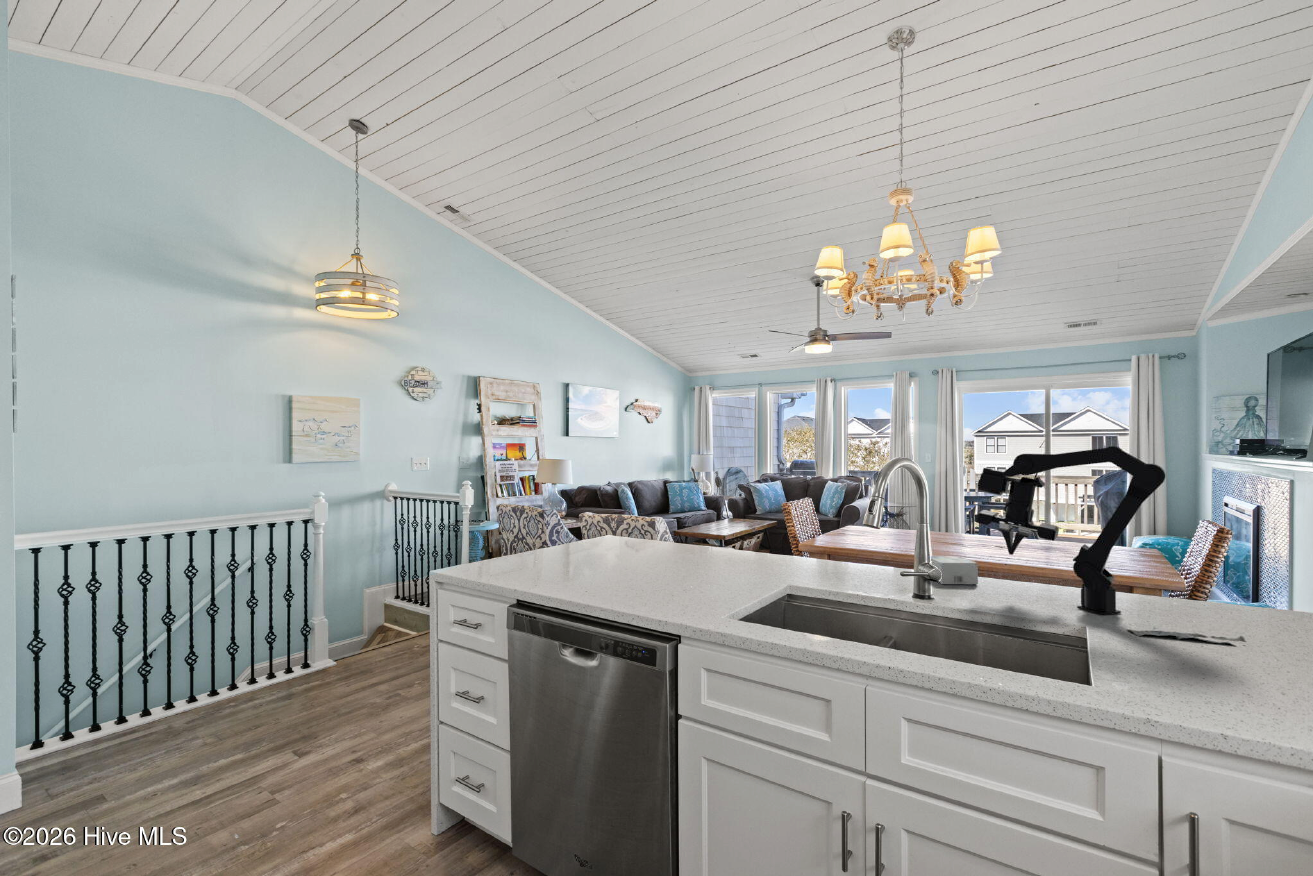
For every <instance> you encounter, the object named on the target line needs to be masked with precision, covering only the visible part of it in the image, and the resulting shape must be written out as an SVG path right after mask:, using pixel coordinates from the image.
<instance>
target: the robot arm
mask: <svg viewBox="0 0 1313 876" xmlns="http://www.w3.org/2000/svg"><path fill="white" fill-rule="evenodd" d="M1103 463H1111V464H1113V465H1115V466H1117V467H1118V468H1119V469H1121V470H1122V471H1124V472H1126V473H1127V474H1129V475H1131V479H1130V482H1129V484H1128V488H1127V490H1126V493H1125V496H1124V497H1123V499H1122V500H1121V502H1120V503H1119V505H1118V507H1116V510H1115V511H1114V512H1113V514H1112V515H1111V517H1110V518H1109V520H1108V521H1107V523H1106V524H1105V526H1104V528H1103V529H1102V531H1101V533H1100V534H1099V535H1098V537H1097V539H1095V541H1094V543H1093V544H1091V545H1090V546H1088V545H1086V543H1084V544H1083V545H1081V547H1080V549H1079V552H1078V554H1077V555H1076V556H1074V558H1073V559H1072V561H1073V562H1074V563H1073V565H1072V570H1073V573H1074V574H1075V575H1076V577H1078V578H1079V579H1081V580H1082V584H1081V589H1080V604H1081V605H1077V606H1076V608H1077V609H1080V610H1083V611H1086V612H1090V613H1094V614H1097V615H1113V614H1114V615H1115V614H1121V613H1122V611H1121V610H1118V609H1117V604H1116V603H1117V600H1116V599H1117V597H1116V595H1117V594H1116V593H1117V592H1116V591H1117V589H1116V587H1113V586H1112V585H1113V583H1114V581H1115V576H1114V575H1113V574H1111V572H1109V570H1107V569H1106V565H1107V562H1108V559H1109V557H1110V554H1111V551H1112V549H1113V548H1114V547H1115V544H1116V543H1117V542H1118V540H1119V539H1120V537H1121V536H1122V534H1123V532H1124V531H1125V530H1126V528H1127V526H1128V525H1129V524H1130V522H1131V521H1132V519H1133V517H1134V516H1136V515H1135V514H1136V513H1137V512H1138V511H1139V509H1140V507H1141V506H1142V504H1143V503H1144V502H1145V501H1146V500H1147V499H1148V498H1149V497H1150V496H1151V495H1152V494H1153V493H1154V492H1155V491H1156V490H1157V489H1158V488H1159V487H1160V486H1161V485H1162V484H1163V483H1164V482H1165V480H1166V477H1167V475H1166V472H1165V469H1163V468H1162V467H1161V466H1160V465H1158V464H1155V463H1149V462H1148V463H1145V462H1144V461H1143V460H1141V459H1138V458H1137V457H1135V456H1133V455H1132V454H1130V453H1128V452H1126V451H1124V450H1123V449H1122V448H1121V447H1119V446H1115V445H1113V446H1112V445H1110V446H1107V447H1103V448H1101V447H1100V448H1096V449H1087V450H1078V451H1069V452H1063V453H1062V452H1061V453H1055V454H1054V453H1022V454H1019V455H1017V456H1016V457H1015V458H1014V460H1013V463H1012V465H1011V466H1009V467H1008V468H1006V469H1005V470H1004V471H1002V470H998V469H992V468H989V467H983V469H982V472H981V474H980V476H979V478H978V482H977V491H978V492H981V493H987V494H991V495H996V496H1002V495H1003V493H1005V494H1006V493H1008V497H1007V500H1006V502H1005V504H1004V508H1003V511H1004V512H1005V515H1004V517H1002V516H998V513H997V512H995V511H991V510H986V509H983V510H981V511H979V512H978V513H977V514H976V516H975V523H977V524H981V525H985V526H989V525H990V524H992V523H994V524H998V525H999V527H998V528H997V531H998V532H1001V534H1002V537H1003V539H1004V542H1005V544H1006V549H1007V551H1008V554H1009V555H1011V556H1013V555H1014V553H1015V552H1016V550H1017V549H1018V547H1019V545H1020V543H1021V542H1022V541H1023V539H1024V538H1026V539H1028V538H1030V537H1031V536H1032V534H1033V533H1036V535H1037V536H1038V538H1040V539H1044V540H1047V541H1055V540H1056V539H1057V538H1058V536H1059V531H1060V529H1059V527H1058V526H1057V525H1054V524H1050V523H1046V522H1042V523H1041V524H1039V525H1037V524H1032V521H1033V519H1034V518H1033V517H1034V513H1035V510H1034V509H1033V504H1034V498H1035V491H1036V487H1037V488H1042V489H1043V487H1044V486H1046V483H1045V482H1044V481H1043V480H1042V479H1041V477H1040V476H1037V477H1036V478H1032V477H1026V476H1032V475H1035V474H1040V473H1044V472H1046V471H1050V470H1051V471H1052V470H1054V469H1058V468H1067V467H1075V466H1076V467H1077V466H1078V467H1079V466H1087V465H1094V464H1103ZM1017 476H1022V477H1021V478H1014V477H1017ZM1008 491H1009V492H1008ZM1015 528H1016V529H1018V531H1017V532H1015V535H1014V531H1015Z"/></svg>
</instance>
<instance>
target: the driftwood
mask: <svg viewBox="0 0 1313 876" xmlns="http://www.w3.org/2000/svg"><path fill="white" fill-rule="evenodd" d="M1153 629H1156V627H1153ZM1126 631H1127V632H1132V633H1133V634H1134V635H1136V636H1138V637H1141V636H1143V635H1154V636H1175V637H1176V639H1177V640H1180V639H1189V638H1190V639H1193V640H1194V639H1195V640H1200V641H1204V642H1208V643H1216V644H1225V645H1231V646H1234V647H1237V645H1234V644H1232V643H1231V642H1242V643H1247V641H1246V639H1245V637H1244V636H1243V635H1242V636H1241V635H1240V636H1238V637H1237V638H1228V637H1226V636H1214V635H1212V636H1208V635H1205V634H1200V633H1189V632H1186V633H1185V632H1183V633H1182V632H1178V631H1164V630H1135V629H1133V630H1132V629H1126ZM1203 638H1204V639H1203ZM1205 638H1210V639H1215V640H1218V642H1217V641H1214V640H1208V639H1205ZM1219 640H1220V641H1221V642H1219ZM1230 641H1231V642H1230ZM1242 647H1246V645H1244V644H1242Z"/></svg>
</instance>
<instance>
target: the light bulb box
mask: <svg viewBox="0 0 1313 876" xmlns="http://www.w3.org/2000/svg"><path fill="white" fill-rule="evenodd" d="M931 561H932V563H933V565H935V566H936V567H938V569H940V571H941V572H942V579H941V581H940V583H939V584H940V585H942V584H978V585H979V576H978V575H979V572H978V570H979V569H978V568H979V567H978V562H975V561H974V560H970V559H968V558H966V557H964V556H948V555H947V556H945V555H944V556H943V555H941V556H940V555H939V556H938V555H935V556H934V555H931Z"/></svg>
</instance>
